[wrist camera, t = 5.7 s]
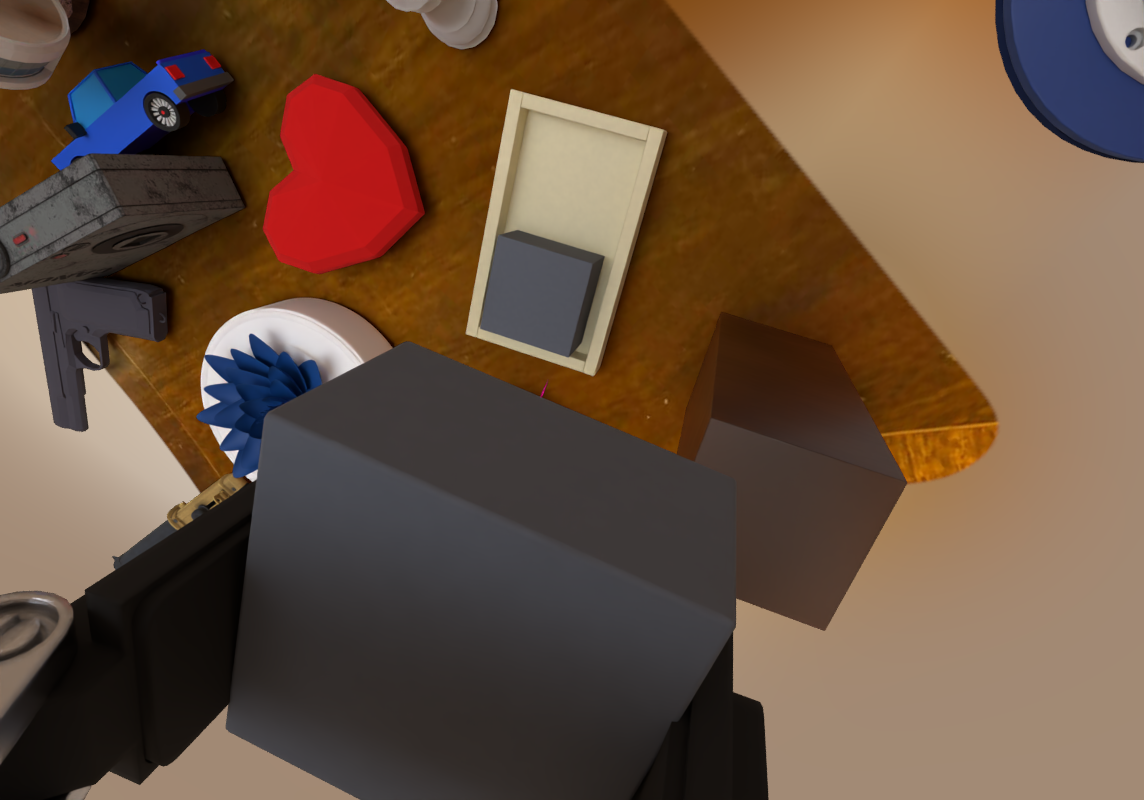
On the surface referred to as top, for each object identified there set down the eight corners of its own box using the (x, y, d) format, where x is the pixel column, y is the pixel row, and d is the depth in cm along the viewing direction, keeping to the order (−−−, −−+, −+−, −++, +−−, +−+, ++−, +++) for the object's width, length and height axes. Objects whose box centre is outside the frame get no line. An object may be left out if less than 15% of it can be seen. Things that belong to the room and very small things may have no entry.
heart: (457, 125, 40) (313, 77, 40) (436, 110, 36) (277, 56, 36) (413, 299, 43) (280, 254, 43) (389, 304, 39) (242, 254, 39)
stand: (832, 345, 37) (908, 482, 21) (788, 443, 40) (824, 631, 24) (721, 311, 38) (710, 417, 22) (686, 409, 41) (653, 568, 24)
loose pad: (738, 477, 10) (739, 626, 7) (612, 718, 12) (567, 910, 9) (407, 338, 10) (261, 411, 7) (350, 592, 13) (222, 731, 10)
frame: (667, 131, 35) (664, 129, 34) (599, 367, 41) (593, 376, 40) (521, 92, 36) (510, 88, 35) (476, 327, 43) (465, 334, 41)
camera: (103, 281, 49) (-40, 306, 40) (76, 234, 48) (-77, 249, 39) (249, 209, 44) (121, 219, 34) (222, 154, 43) (83, 150, 33)
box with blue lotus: (137, 422, 44) (343, 605, 45) (224, 265, 38) (461, 483, 39) (211, 391, 50) (390, 552, 52) (296, 252, 44) (499, 440, 45)
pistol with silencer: (212, 612, 63) (127, 542, 60) (366, 518, 52) (273, 427, 49) (182, 646, 59) (90, 573, 56) (341, 552, 49) (239, 456, 46)
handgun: (175, 287, 47) (36, 232, 48) (151, 295, 45) (7, 238, 46) (181, 461, 56) (64, 414, 56) (162, 474, 54) (41, 425, 55)
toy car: (145, 175, 46) (87, 112, 44) (250, 91, 41) (193, 17, 39) (79, 205, 41) (9, 136, 38) (191, 113, 36) (121, 28, 34)
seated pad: (605, 255, 38) (593, 263, 35) (581, 343, 41) (568, 358, 37) (516, 229, 39) (497, 234, 36) (499, 316, 41) (479, 328, 38)
